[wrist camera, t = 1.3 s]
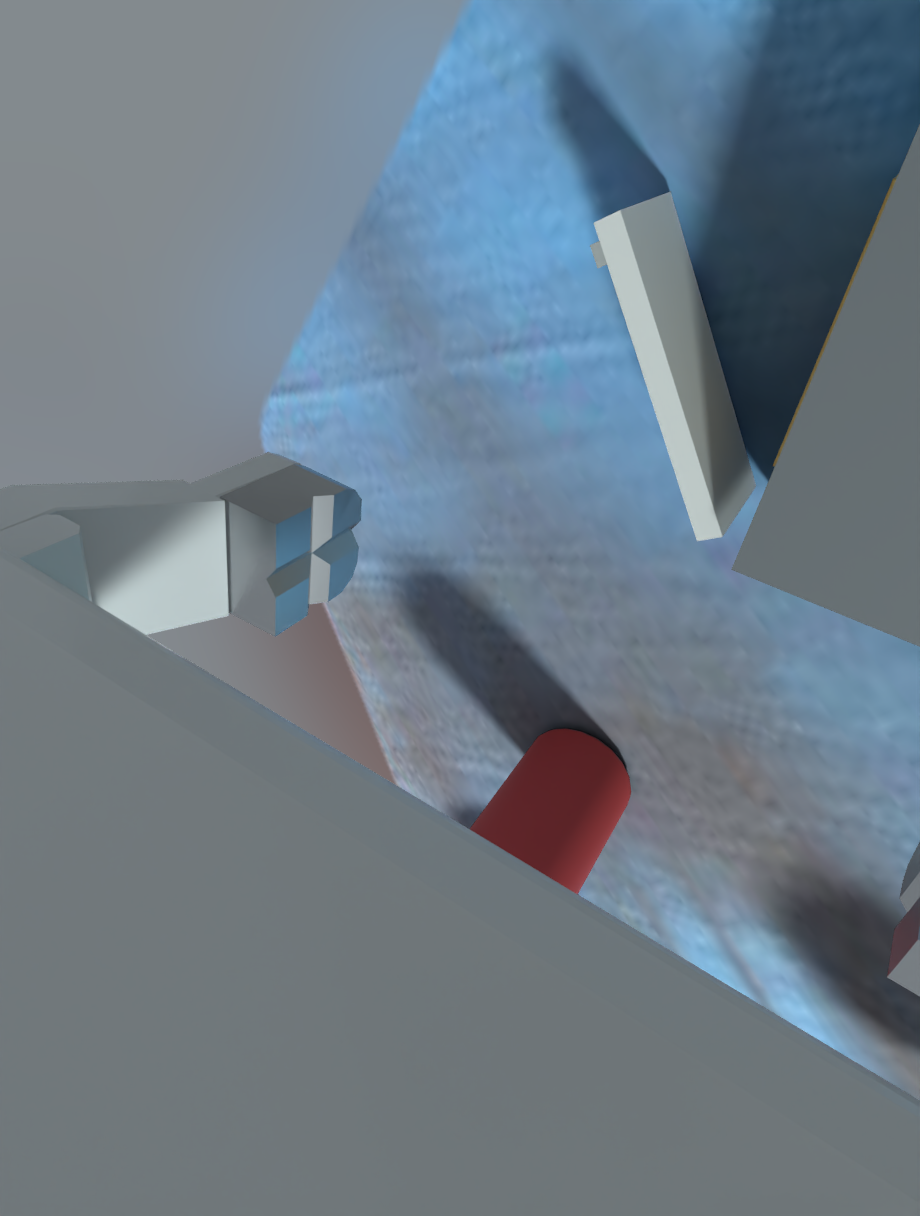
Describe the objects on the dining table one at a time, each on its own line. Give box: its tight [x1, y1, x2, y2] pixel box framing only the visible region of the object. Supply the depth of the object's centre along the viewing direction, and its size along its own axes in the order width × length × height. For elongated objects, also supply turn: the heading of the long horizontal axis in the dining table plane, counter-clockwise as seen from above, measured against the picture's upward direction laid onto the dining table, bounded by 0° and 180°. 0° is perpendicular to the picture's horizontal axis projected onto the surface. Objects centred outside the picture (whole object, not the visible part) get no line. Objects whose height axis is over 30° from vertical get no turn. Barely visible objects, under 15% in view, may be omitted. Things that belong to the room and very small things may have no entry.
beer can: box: [470, 729, 631, 894], centre depth 44 cm, size 7×7×12 cm
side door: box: [590, 192, 756, 541], centre depth 30 cm, size 12×2×5 cm, turn 27°
